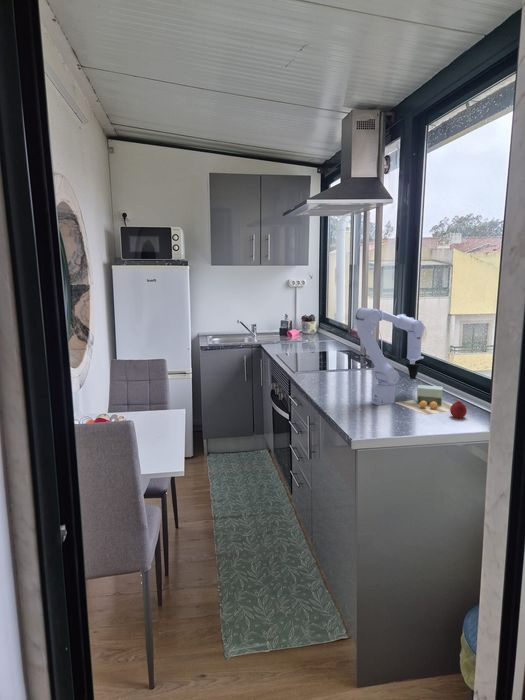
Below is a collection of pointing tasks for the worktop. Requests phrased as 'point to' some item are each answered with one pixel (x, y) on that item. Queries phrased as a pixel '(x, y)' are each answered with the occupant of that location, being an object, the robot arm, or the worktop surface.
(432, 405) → the marble
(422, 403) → the marble
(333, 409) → the worktop surface
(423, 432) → the worktop surface
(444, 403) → the birch board
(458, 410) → the red rounded piece
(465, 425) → the worktop surface
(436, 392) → the sage container
